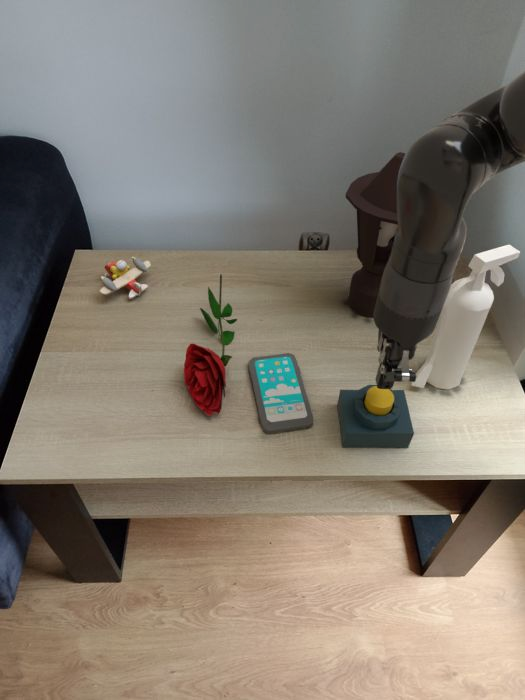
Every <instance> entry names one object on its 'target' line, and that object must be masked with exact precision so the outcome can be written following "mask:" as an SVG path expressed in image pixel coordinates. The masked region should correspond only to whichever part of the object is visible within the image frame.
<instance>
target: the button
mask: <svg viewBox="0 0 525 700" xmlns="http://www.w3.org/2000/svg"><path fill="white" fill-rule="evenodd" d="M393 402H394V395H393V393H392V392H391V391H390V390H389V389H378V388H377V386H373V387H371V388H370V389H369V390H368V391H367V394H366V398H365V401H364V404H365V407H366V409H367V410H368V411H369V412H370V413H371V414H374V415H377V416H383V415H386V414H388V413H389V412H390V411H391V408H392V405H393Z"/></svg>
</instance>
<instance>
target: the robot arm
mask: <svg viewBox="0 0 525 700" xmlns="http://www.w3.org/2000/svg"><path fill="white" fill-rule="evenodd" d="M524 162H525V70H524V71H523V72H521V73H520V74H519V75H517V76H516V77H515V78H514V79H512V81H510V82H509V83H508V84H505V85H503V86H501V87H499V88H498V89H497V88H496V89H495V90H494V91H491V92H489V93H487V94H486V95H484V96H482V97H480V98H478V99H477V100H475V101H473V102H471V103H469V104H467V105H466V106H464V107H462V108H461V109H459V110H457V111H456V112H453V113H452V114H451V115H449V116H447V117H446V118H445V119H443V120H441V121H440V122H439V123H437V124H436V125H435V126H433V127H432V128H430V129H428V130H427V131H425V132H424V133H422V134H421V135H420V136H418V137H417V138H416V139H415V140H413V142H412V143H411V144H410V145H409V147H408V148H407V150H406V152H405V156H404V159H403V161H402V164H401V167H400V170H399V174H398V179H397V221H398V228H397V230H396V234H395V237H394V241H393V245H392V249H391V253H390V257H389V260H388V262H387V264H386V267H385V269H384V272H383V276H382V280H381V284H380V288H379V292H378V296H377V300H376V304H375V308H374V313H373V318H372V319H373V323H374V324H375V326H376V328H377V329H378V334H377V346H376V348H377V351H378V352H379V355H378V359H377V361H378V364H379V365H378V368H377V373H376V376H375V385H377V388H378V389H393V387H394V386H395V385H394V384H395V383H412V382H415V381H416V373H417V372H415V371H413V368H410V361H411V360H413V359H414V357H415V354H416V351H417V349H418V344H419V343H421V342H422V341H424V340H426V339H428V338H429V337H430V336H431V335H432V334H434V332H435V329H436V326H437V323H438V320H439V316H440V314H441V311H442V308H443V306H444V303H445V301H446V298H447V295H448V293H449V290H450V287H451V285H452V284H453V283H452V282H453V277H454V273H455V271H456V267H457V265H458V262H459V260H460V257H461V254H462V252H463V249H464V247H465V244H466V243H465V242H466V238H467V231H468V229H467V228H468V227H467V223H466V221H465V219H464V217H463V215H464V212H465V209H466V208H467V206H468V203H469V201H470V199H471V198H472V196H473V195H474V194H475V193H476V192H477V191H478V190H479V189H480V188H482V187H483V186H484V185H485V184H486V183H488V182H489V181H490V180H491V179H492V178H494V177H497V176H498V175H500V174H502V173H503V172H505V171H507V170H509V169H511V168H513V167H515V166H517V165H519V164H522V163H524Z"/></svg>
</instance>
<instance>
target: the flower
mask: <svg viewBox="0 0 525 700" xmlns="http://www.w3.org/2000/svg"><path fill="white" fill-rule="evenodd" d="M222 286H223V274H221V273H220V275H219V295H218V296H219V299H218V301H217V298H216V297H215V295H214V293H213V291H212V290H211V289H210V287H209V286H207V297H208V303H209V308H210V310H211V314H212V316H213V317H214V319H216V320H218V322H217V323H218V324H217V326H218V327H217V326H216V324H215V322H214V321H213V318H212V317H211V315H210V314H209V313H208V312H206V311H205V310H204V309H203V308H201V307H199V310H200V312H201V314H202V316H203V318H204V320H205V322H206V324H207V326H208V327H209V329H210V330H211V331H212V332H213V333H214V334H215V335H217V334H218V336H220V341H221V346H222V349H221V351H222V352H221V357H220V356H219V355H218V354H217V353H216V352H215V351H214V350H212V349H210V348H209V347H204V346H201V345H198V344H196V343H189V345H188V347H187V348H186V351H185V359H184V360H185V361H184V364H183V366H184V367H183V377H184V383H185V386H186V387H187V388H188V389H187V392H188V393H189V396H190V397H191V398H192V401H194V404H195V406H196V407H198V408H199V410H201V411H202V412H203V413H204V414H205V415H207V416H208V417H212V415H213V414H214V413H216V414H217V415H220V414H221V411H222V405H223V403H222V401H223V398H226V388H227V382H226V367H227V366H228V364H229V361H230V360H231V359H232V358H233V356H232V355H228V354H225V350H226V349H225V347H226V345H230V344H231V343H232V342H233V340H234V339H235V333H236V331H234V330H233V331H230V330H224V331H223V325H222V320H224V321H225V322H226V323H227V324H229V325H233V324H235V323H236V322H237V321H238V318H232V319H225V318H230V317H232V315H233V307H232V305H231V304H230V303H229V302H228V303H227V304H226V305H225V306H224V307H223V309H222Z"/></svg>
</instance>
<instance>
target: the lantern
mask: <svg viewBox="0 0 525 700" xmlns="http://www.w3.org/2000/svg"><path fill="white" fill-rule="evenodd" d="M405 154H406V152H401V151H400V152H397V153H395V154H394V155H393V156H392V157H391V159H390V160H389V161H387V163H386V164H385V165H384V166H383V167H382V168H381V169H380V170H379V171H377V172H371V173H367V174H364V175H361V176H358V177H357V178H356V179H355V180H353V181H352V182H351V183H350V185H349V187H348V189H347V190H346V192H345V199H346V200H347V201H348V202H349V203H350V204H351V206H352V207H353V208H354V209H355V210H356V226H357V227H356V228H357V229H356V230H357V231H356V232H357V248H356V256H357V259H358V260H359V262H360V263H361V266H362V267H360V269H358V270H356V271H355V272H353V274H352V276H351V279H350V285H349V290H348V295H347V305H348V307H349V309H350V310H351V311H352V312H354V314H357V315H358V316H359V317H365V318H372V319H373V313H374V308H375V304H376V300H377V296H378V292H379V288H380V284H381V280H382V276H383V272H384V269H385V267H386V264H387V262H388V260H389V257H390V253H391V249H392V245H393V241H394V237H395V234H396V230H397V228H398V221H397V179H398V174H399V170H400V167H401V164H402V161H403V159H404V156H405Z"/></svg>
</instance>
